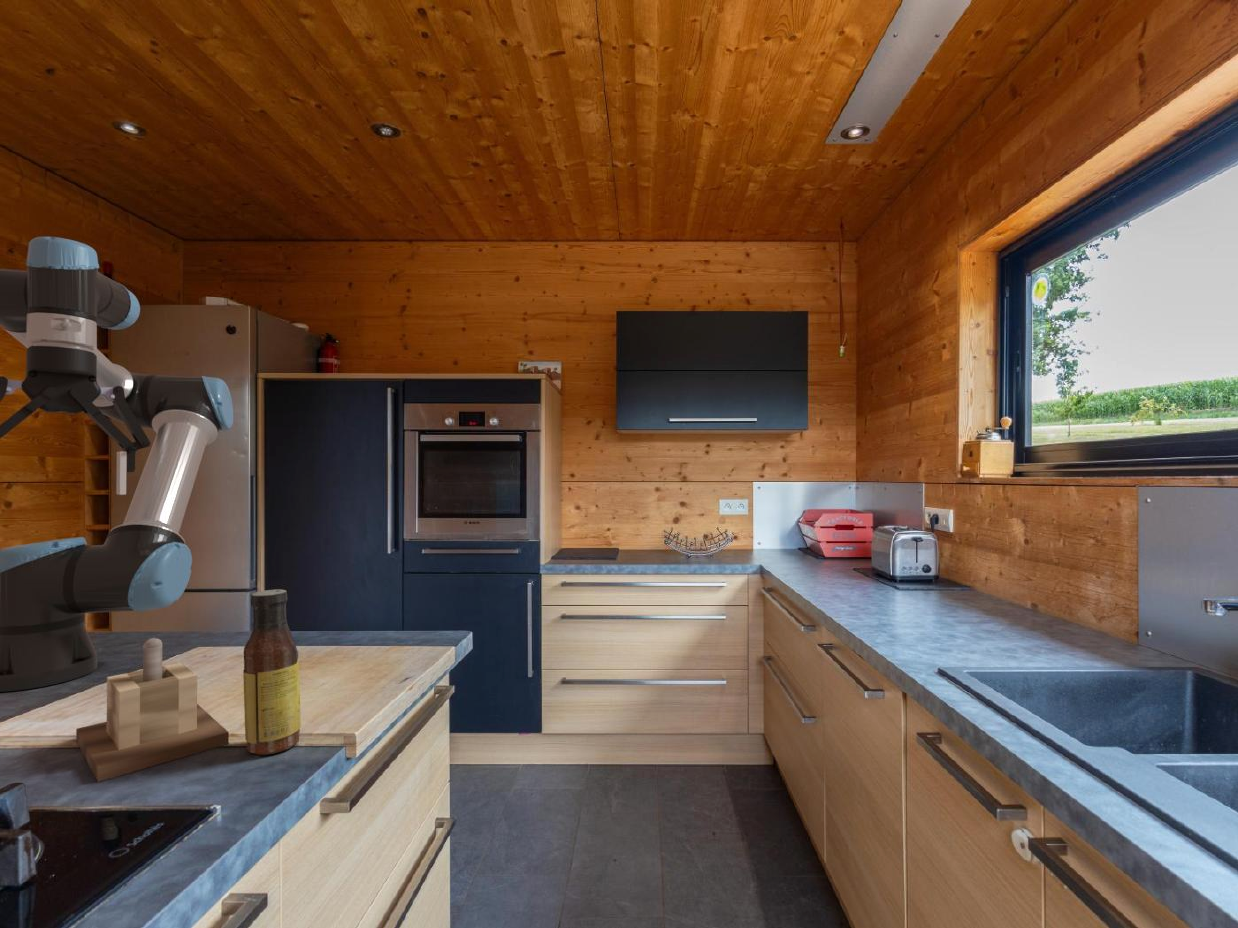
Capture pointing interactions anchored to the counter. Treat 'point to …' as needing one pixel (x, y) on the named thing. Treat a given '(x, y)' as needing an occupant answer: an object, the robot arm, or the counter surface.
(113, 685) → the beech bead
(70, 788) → the counter surface
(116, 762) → the rod stand
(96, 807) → the counter surface
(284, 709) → the sauce bottle
